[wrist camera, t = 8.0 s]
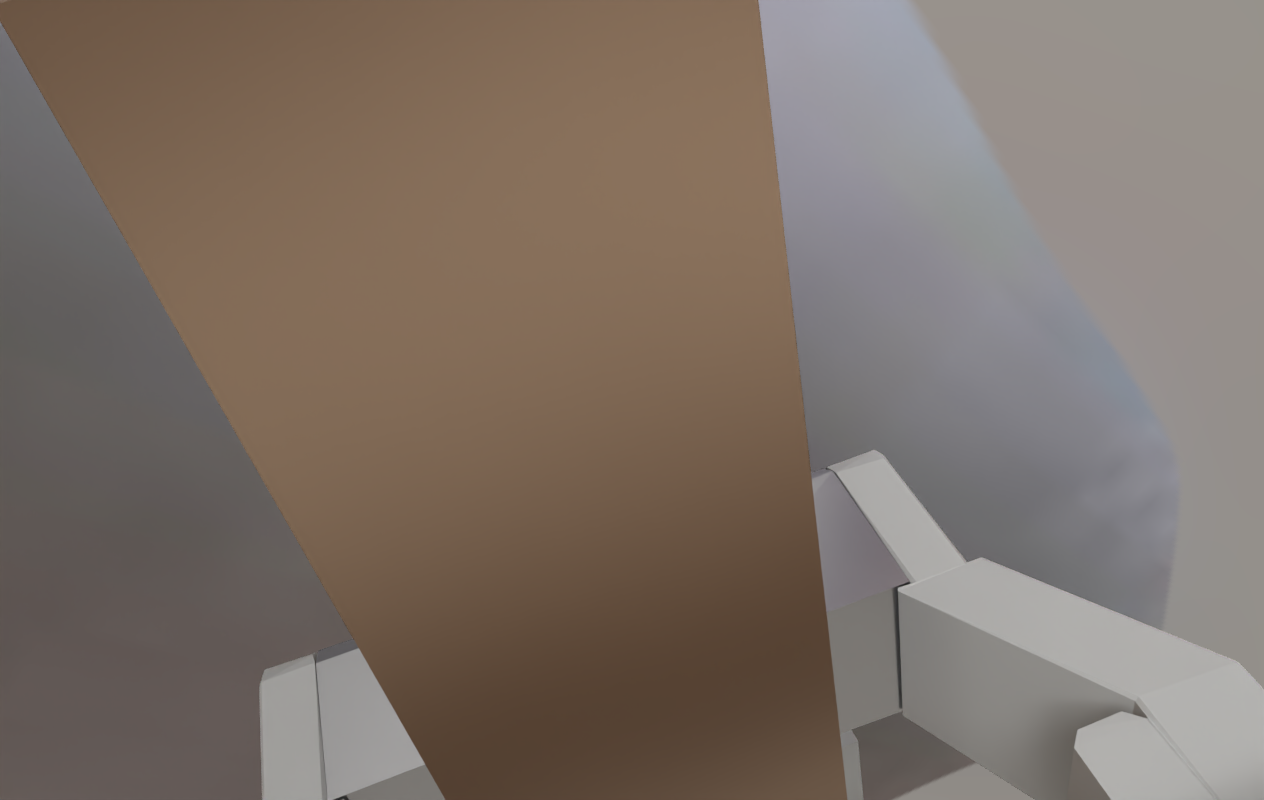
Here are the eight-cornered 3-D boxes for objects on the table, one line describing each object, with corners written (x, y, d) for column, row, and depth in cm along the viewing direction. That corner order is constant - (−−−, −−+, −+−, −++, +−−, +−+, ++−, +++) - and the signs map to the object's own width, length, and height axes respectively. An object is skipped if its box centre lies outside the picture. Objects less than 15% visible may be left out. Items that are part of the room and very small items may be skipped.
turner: (-140, -108, 7) (-431, 123, 4) (723, -339, 8) (1066, -301, 5) (549, 1023, 19) (612, 1299, 16) (860, 895, 20) (977, 1135, 17)
